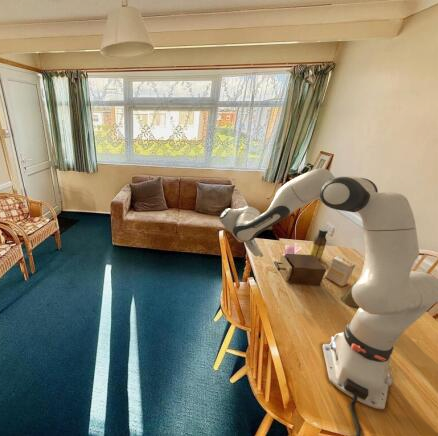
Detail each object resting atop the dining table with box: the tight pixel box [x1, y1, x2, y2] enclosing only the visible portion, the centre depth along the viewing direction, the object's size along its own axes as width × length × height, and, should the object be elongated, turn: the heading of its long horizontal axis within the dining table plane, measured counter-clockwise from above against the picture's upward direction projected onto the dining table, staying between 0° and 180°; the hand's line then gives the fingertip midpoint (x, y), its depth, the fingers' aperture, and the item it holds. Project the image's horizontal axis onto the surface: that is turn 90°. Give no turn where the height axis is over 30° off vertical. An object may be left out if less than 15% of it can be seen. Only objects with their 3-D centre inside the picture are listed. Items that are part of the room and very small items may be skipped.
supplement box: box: [325, 255, 357, 287], centre depth 119 cm, size 8×5×13 cm, turn 22°
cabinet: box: [284, 252, 327, 287], centre depth 123 cm, size 15×13×11 cm
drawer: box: [273, 254, 294, 282], centre depth 124 cm, size 18×11×9 cm, turn 82°
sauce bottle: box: [308, 227, 328, 261], centre depth 137 cm, size 6×6×20 cm
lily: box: [281, 242, 303, 256], centre depth 140 cm, size 12×12×10 cm
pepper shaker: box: [342, 281, 359, 308], centre depth 106 cm, size 6×6×11 cm
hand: (258, 250), depth 122 cm, fingers open, 8 cm apart
